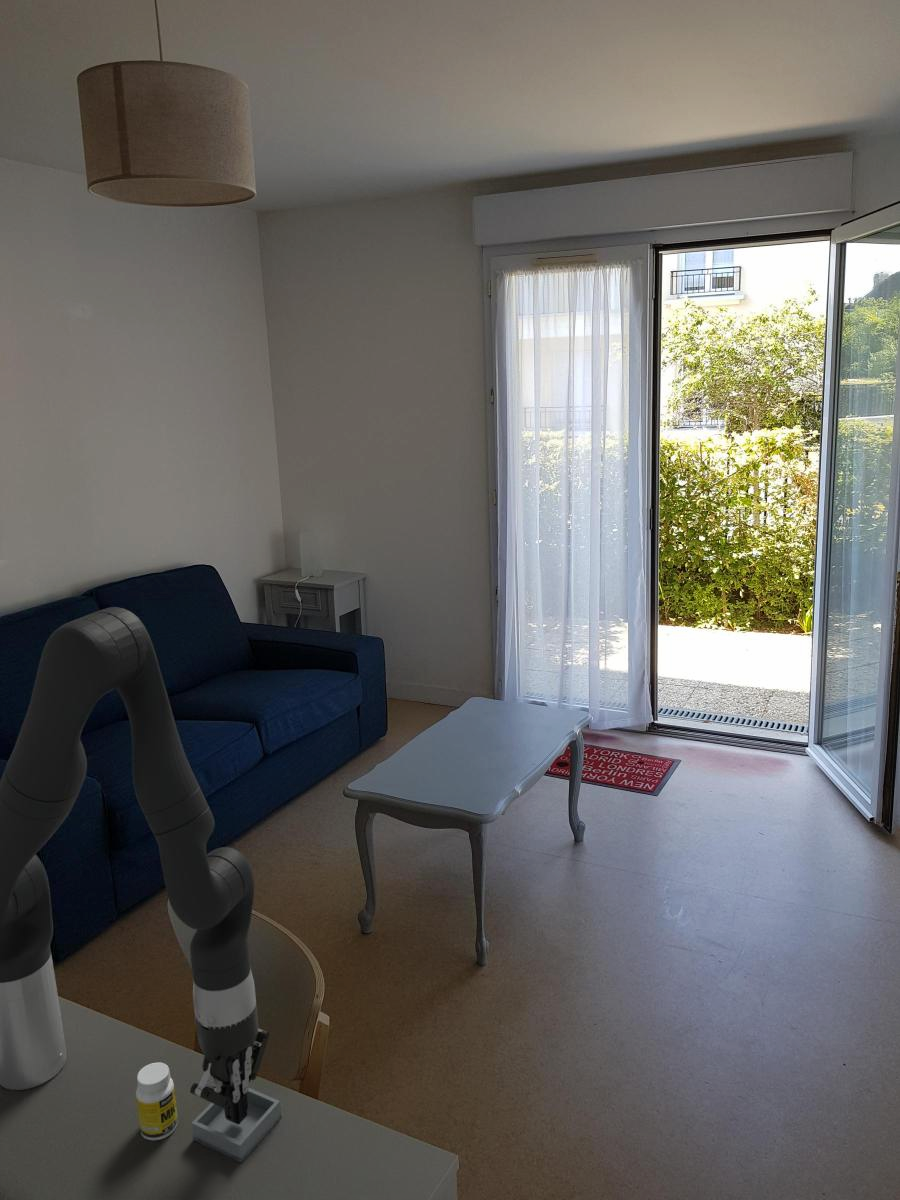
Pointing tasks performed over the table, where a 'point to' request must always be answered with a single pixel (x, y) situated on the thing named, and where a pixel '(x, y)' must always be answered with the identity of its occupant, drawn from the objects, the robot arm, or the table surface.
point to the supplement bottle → (156, 1101)
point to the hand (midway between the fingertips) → (237, 1118)
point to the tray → (237, 1126)
